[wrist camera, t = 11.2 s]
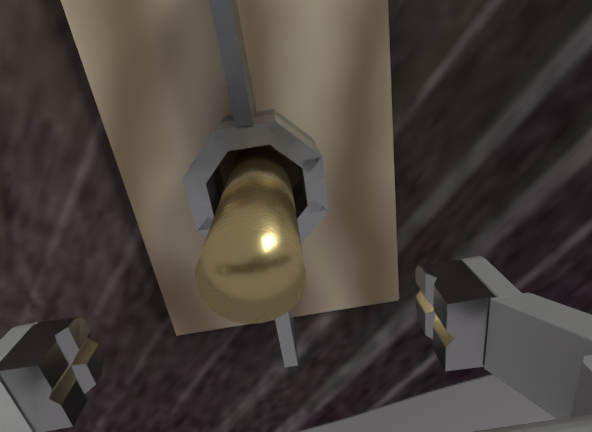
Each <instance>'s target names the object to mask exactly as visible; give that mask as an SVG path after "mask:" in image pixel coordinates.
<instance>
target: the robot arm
mask: <svg viewBox="0 0 592 432" xmlns="http://www.w3.org/2000/svg"><path fill="white" fill-rule="evenodd" d="M415 281H416V283H417V285H418V286H419V288H420V291H419V293H418V294H417V295H416V310H417V315H418V319H419V322H420V325H421V327H422V329H423V331H424V333H425V335H426V336H428V337H430V338H432V339H433V350H434V352H435V353H436V355H437V357H438V359H439V361H440V362H441V364H442V366H443V368H444V370H445V371H451V370H459V369H467V368H476V367H484V369H486V370H487V371H489V372H490V373H492V374H493V375H495V376H496V377H497V378H499V379H500V380H502V381H503V382H505V383H506V384H508V385H509V386H511V387H512V388H514V389H515V390H516V391H518V392H519V393H521V394H522V395H524V396H525V397H526V398H528V399H529V400H531V401H532V402H534V403H535V404H537V405H538V406H540V407H541V408H542V409H544V410H545V411H547V412H548V413H550V414H551V415H552V416H554V417H555V418H557V419H555V420H549V421H542V422H535V423H528V424H521V425H515V426H508V427H501V428H495V429H488V430H481V431H474V432H592V315H591V314H588V313H585V312H582V311H579V310H577V309H574V308H571V307H568V306H565V305H562V304H560V303H557V302H554V301H551V300H548V299H546V298H543V297H540V296H537V295H534V294H531V293H523V294H522V293H521V292H520V291H519V290H518V289H517V288H516V287H515V286H514V285H513V284H511V283H510V282H509V281H508V280H507V279H506V278H505V277H504V276H503V275H502V274H501V273H500V272H499V271H498V270H497V269H496V268H494V267H493V266H492V265H491V264H490V263H489V262H488V261H487V260H486V259H485V258H484V257H482V256H473V257H468V258H463V259H458V260H453V261H447V262H442V263H436V264H430V265H424V266H418V267H417V268H416V272H415ZM91 331H92V330H91V328H90V326H89V324H88V322H87V320H86V319H84V318H81V317H75V318H67V319H60V320H52V321H44V322H39V323H37V322H36V323H30V324H23V325H19V326H16V327H13V328H12V329H11V330H10V331H9V332H8V333H7V334H6V335H5V336H4V337H3V338H2V339H1V340H0V432H45V431H51V430H56V429H62V428H68V427H73V426H74V424H75V422H76V420H77V418H78V416H79V415H80V413H81V411H82V409H83V407H84V406H85V404H86V402H87V398H86V394H85V393H86V392H87V391H89V390H90V389H91V388H92V387H93V386H95V385H96V383H97V381H98V380H99V378H100V376H101V373H102V367H103V356H102V351H101V349H100V347H99V345H98V344H97V343H96V342H94V341H93V340H91V339H89V336H90V333H91Z"/></svg>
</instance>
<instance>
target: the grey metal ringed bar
mask: <svg viewBox="0 0 592 432" xmlns="http://www.w3.org/2000/svg"><path fill="white" fill-rule="evenodd" d="M209 1H210V5H211V10H212V15H213V20H214V25H215V30H216V35H217V40H218V44H219V49H220V54H221V59H222V64H223V69H224V74H225V79H226V83H227V88H228V93H229V98H230V103H231V108H232V113H233V115H231V116H225V117H224V118H223V120H222V121H221V122H220V123H219V125H218V126H217V127H216V129H215V130H214V131H213V133H212V134H211V136H210V137H209V139H208V140H207V142H206V143H205V145H204V146H203V148H202V149H201V151H200V152H199V154H198V155H197V157H196V158H195V160H194V161H193V163H192V164H191V166H190V168H189V169H188V171H187V172H186V174H185V175H184V177H183V179H182V180H183V183H184V187H185V190H186V194H187V198H188V201H189V205H190V208H191V212H192V216H193V219H194V223H195V226H196V230H197V232H199V233H201V234H202V235H204V236H206V237H207V235H208V232H209V229H210V227H211V224H212V221H213V219H214V216H215V213H216V210H217V208H218V205H219V202H220V200H221V197H222V194H223V191H224V189H225V188H224V183H223V179H222V175H221V170H220V166H219V163H220V162H221V161H222V159H223V158H224V156H225V155H226V153H227V152H228V151H232V150H238V149H244V148H251V147H257V146H264V145H271V146H272V147H273V148H275V149H276V150H278V151H279V152H280V153H282V154H283V155H285V156H286V157H287V158H289V159H290V160H292V161H293V162H294V163H296V164H297V165H299V170H300V177H301V179H300V180H299V182H298V183H297V184H296V185H295V187H294V188H293V189H292V191H293V197H294V204H295V210H296V216H297V222H298V228H299V234H300V240H301V244H302V242H303V241H304V240H305V239H306V238H307V236H308V235H309V234H310V233H311V231H312V230H313V229H314V228H315V227H316V225H317V224H318V223H319V222H320V221H321V219H322V218H323V217H324V216H325V214H326V213H327V212H328V211H329V207H328V198H327V189H326V181H325V172H324V163H323V156H322V155H321V153H320V151H319V149H318V147H317V146H316V144H315V142H314V140H313V138H312V137H311V136H309V135H308V134H307V133H305V132H304V131H303V130H301V129H300V128H299V127H297V126H296V125H295V124H293V123H292V122H291V121H289V120H288V119H287V118H285V117H284V116H283V115H281V114H280V113H279V112H277V111H276V110H275V109H269V110H263V111H256V105H255V100H254V94H253V89H252V83H251V78H250V72H249V66H248V61H247V55H246V50H245V44H244V39H243V33H242V27H241V22H240V16H239V11H238V5H237V0H209ZM275 322H276V327H277V332H278V337H279V342H280V347H281V351H282V356H283V361H284V366H285V367H291V366H297V365H298V360H297V349H296V338H295V328H294V317H293V312H292V309H291V310H289V311H288V312H287V313H285V314H284V315H282V316H281V317H278V318H276V319H275Z"/></svg>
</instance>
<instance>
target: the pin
mask: <svg viewBox="0 0 592 432" xmlns="http://www.w3.org/2000/svg"><path fill="white" fill-rule="evenodd" d="M195 282H196V287H197V290H198V293H199V295H200V297H201V298H202V300H203V301H204V303H205V304H206V305H207V306H208V307H209V308H210V309H211V310H212V311H214V312H215V313H216V314H218V315H220V316H221V317H223V318H225V319H228V320H231V321H234V322H238V323H245V324H257V323H264V322H268V321H271V320H274V319H276V318H278V317H281V316H282V315H284V314H285V313H287V312H288V311H289V310H291V309H292V308H293V307H294V306H295V305H296V303H297V302H298V301H299V299H300V297H301V295H302V293H303V291H304V288H305V283H306V270H305V264H304V258H303V252H302V246H301V240H300V234H299V228H298V222H297V216H296V210H295V204H294V197H293V191H292V185H291V179H290V173H289V167H288V162H287V159H286V157H285V155H283V154H282V153H280V152H279V151H278V150H276V149H275V148H273V147H272V146H271V145H264V146H257V147H251V148H244V149H241V150H240V152H239V153H238V155H237V156H236V159H235V161H234V164H233V167H232V170H231V172H230V175H229V178H228V180H227V183H226V186H225V189H224V191H223V194H222V197H221V200H220V202H219V205H218V208H217V210H216V213H215V216H214V219H213V221H212V224H211V227H210V229H209V232H208V235H207V238H206V240H205V243H204V246H203V248H202V251H201V254H200V257H199V259H198V262H197V266H196V270H195Z"/></svg>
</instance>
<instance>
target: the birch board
mask: <svg viewBox="0 0 592 432" xmlns="http://www.w3.org/2000/svg"><path fill="white" fill-rule="evenodd" d="M61 3H62V6H63V9H64V12H65V15H66V18H67V20H68V23H69V26H70V29H71V32H72V35H73V38H74V41H75V44H76V46H77V49H78V52H79V55H80V58H81V61H82V64H83V67H84V70H85V73H86V75H87V78H88V81H89V84H90V87H91V90H92V93H93V96H94V99H95V101H96V104H97V107H98V110H99V113H100V116H101V119H102V122H103V125H104V128H105V130H106V133H107V136H108V139H109V142H110V145H111V148H112V151H113V154H114V156H115V159H116V162H117V165H118V168H119V171H120V174H121V177H122V180H123V183H124V185H125V188H126V191H127V194H128V197H129V200H130V203H131V206H132V209H133V212H134V214H135V217H136V220H137V223H138V226H139V229H140V232H141V235H142V238H143V240H144V243H145V246H146V249H147V252H148V255H149V258H150V261H151V264H152V267H153V269H154V272H155V275H156V278H157V281H158V284H159V287H160V290H161V293H162V295H163V298H164V301H165V304H166V307H167V310H168V313H169V316H170V319H171V322H172V324H173V327H174V330H175V333H176V336H177V335H184V334H190V333H196V332H203V331H209V330H215V329H221V328H228V327H234V326H240V325H247V324H245V323H238V322H234V321H231V320H228V319H225V318H223V317H221V316H220V315H218V314H216V313H215V312H214V311H212V310H211V309H210V308H209V307H208V306H207V305H206V304H205V303H204V301H203V300H202V298H201V297H200V295H199V293H198V290H197V287H196V282H195V270H196V266H197V262H198V259H199V257H200V254H201V251H202V248H203V246H204V243H205V240H206V238H207V237H206V236H204V235H202V234H201V233H199V232H197V230H196V226H195V223H194V219H193V216H192V212H191V208H190V205H189V201H188V198H187V194H186V190H185V187H184V183H183V180H182V179H183V177H184V175H185V174H186V172H187V171H188V169H189V168H190V166H191V164H192V163H193V161H194V160H195V158H196V157H197V155H198V154H199V152H200V151H201V149H202V148H203V146H204V145H205V143H206V142H207V140H208V139H209V137H210V136H211V134H212V133H213V131H214V130H215V129H216V127H217V126H218V125H219V123H220V122H221V121H222V120H223V118H224V117H225V116H231V115H233V113H232V108H231V103H230V98H229V93H228V88H227V83H226V79H225V74H224V69H223V64H222V59H221V54H220V49H219V44H218V40H217V35H216V30H215V25H214V20H213V15H212V10H211V5H210V1H209V0H61ZM237 5H238V11H239V16H240V22H241V27H242V33H243V39H244V44H245V50H246V55H247V61H248V66H249V72H250V78H251V83H252V89H253V94H254V100H255V105H256V111H263V110H269V109H275V110H276V111H277V112H279V113H280V114H281V115H283V116H284V117H285V118H287V119H288V120H289V121H291V122H292V123H293V124H295V125H296V126H297V127H299V128H300V129H301V130H303V131H304V132H305V133H307V134H308V135H309V136H311V137H312V138H313V140H314V142H315V144H316V146H317V147H318V149H319V151H320V153H321V155H322V156H323V163H324V172H325V181H326V189H327V198H328V207H329V211H328V212H327V213H326V214H325V216H324V217H323V218H322V219H321V221H320V222H319V223H318V224H317V225H316V227H315V228H314V229H313V230H312V231H311V233H310V234H309V235H308V236H307V238H306V239H305V240H304V241H303V242H302V244H301V246H302V252H303V258H304V264H305V270H306V283H305V288H304V291H303V293H302V295H301V297H300V299H299V301H298V302H297V303H296V305H295V306H294V307H293V308H292V312H293V317H297V316H303V315H309V314H316V313H322V312H328V311H335V310H341V309H347V308H353V307H360V306H366V305H372V304H379V303H385V302H391V301H397V300H399V284H398V257H397V230H396V203H395V176H394V149H393V122H392V95H391V68H390V41H389V14H388V0H237ZM240 150H241V149H238V150H232V151H228V152H227V153H226V155H225V156H224V158H223V159H222V161H221V162H220V163H219V166H220V170H221V175H222V179H223V183H224V188H225V186H226V183H227V180H228V178H229V175H230V172H231V170H232V167H233V164H234V161H235V159H236V156H237V155H238V153H239V152H240ZM285 157H286V156H285ZM286 159H287V162H288V167H289V173H290V179H291V185H292V189H293V188H294V187H295V185H296V184H297V183H298V182H299V180H300V179H301V177H300V170H299V165H297V164H296V163H294V162H293V161H292V160H290V159H289V158H287V157H286ZM274 320H275V319H274ZM271 321H272V320H271Z"/></svg>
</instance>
